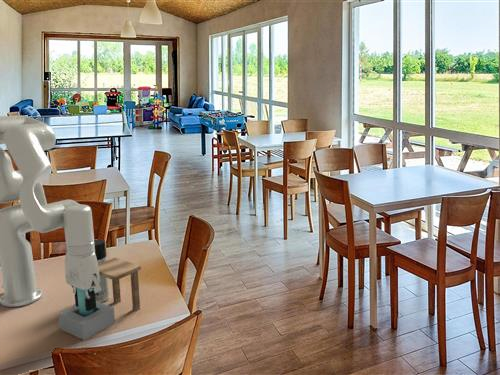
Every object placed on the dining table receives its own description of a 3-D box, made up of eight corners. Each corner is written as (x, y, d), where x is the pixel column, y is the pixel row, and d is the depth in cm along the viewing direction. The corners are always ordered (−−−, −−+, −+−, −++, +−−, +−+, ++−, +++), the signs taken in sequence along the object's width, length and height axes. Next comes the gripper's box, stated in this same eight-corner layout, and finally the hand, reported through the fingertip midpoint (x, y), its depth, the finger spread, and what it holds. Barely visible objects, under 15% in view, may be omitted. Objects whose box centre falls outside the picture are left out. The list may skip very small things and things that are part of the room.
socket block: (59, 328, 132) (58, 313, 131) (91, 312, 141) (89, 298, 140) (84, 340, 126) (82, 323, 125) (115, 322, 135) (113, 307, 134)
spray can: (84, 299, 149) (79, 242, 145) (102, 292, 155) (97, 237, 150) (96, 305, 145) (91, 247, 141) (113, 298, 151) (109, 241, 146)
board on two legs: (92, 311, 142) (89, 268, 139) (117, 298, 150) (114, 257, 147) (118, 321, 136) (115, 277, 132) (143, 308, 144) (140, 265, 140)
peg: (76, 319, 132) (73, 281, 130) (88, 313, 136) (84, 276, 133) (85, 323, 130) (82, 284, 128) (96, 317, 134) (93, 279, 131)
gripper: (51, 246, 129) (57, 304, 134) (88, 258, 120) (94, 320, 125) (73, 238, 135) (78, 294, 140) (111, 250, 127) (115, 309, 131)
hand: (86, 306), depth 132 cm, fingers closed on peg, 3 cm apart
